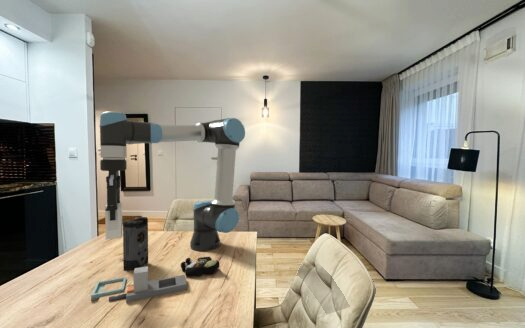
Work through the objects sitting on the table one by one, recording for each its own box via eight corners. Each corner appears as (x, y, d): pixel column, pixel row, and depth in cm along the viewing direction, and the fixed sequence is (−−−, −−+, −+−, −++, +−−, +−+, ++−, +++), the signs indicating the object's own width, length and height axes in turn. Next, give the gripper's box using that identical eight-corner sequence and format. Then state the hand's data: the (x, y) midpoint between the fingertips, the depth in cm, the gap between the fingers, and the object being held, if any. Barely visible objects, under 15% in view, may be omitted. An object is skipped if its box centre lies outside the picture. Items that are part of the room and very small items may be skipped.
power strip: (184, 282, 88) (184, 258, 87) (187, 292, 81) (186, 266, 81) (111, 297, 78) (110, 270, 78) (107, 310, 72) (106, 280, 72)
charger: (122, 234, 84) (122, 202, 84) (121, 237, 80) (120, 204, 80) (107, 235, 83) (107, 203, 82) (105, 239, 79) (105, 205, 78)
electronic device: (134, 273, 95) (133, 222, 94) (121, 271, 96) (120, 222, 95) (150, 262, 104) (149, 217, 103) (138, 261, 105) (137, 216, 104)
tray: (126, 281, 88) (126, 276, 88) (123, 294, 80) (123, 289, 80) (97, 286, 85) (97, 281, 85) (91, 300, 76) (91, 295, 76)
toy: (190, 254, 103) (222, 247, 100) (195, 271, 103) (226, 265, 99) (173, 267, 91) (208, 260, 87) (178, 287, 91) (214, 280, 87)
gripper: (104, 158, 87) (105, 222, 88) (95, 159, 71) (95, 236, 72) (128, 158, 90) (128, 220, 91) (124, 159, 75) (124, 233, 75)
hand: (114, 227), depth 81 cm, fingers closed on charger, 4 cm apart
